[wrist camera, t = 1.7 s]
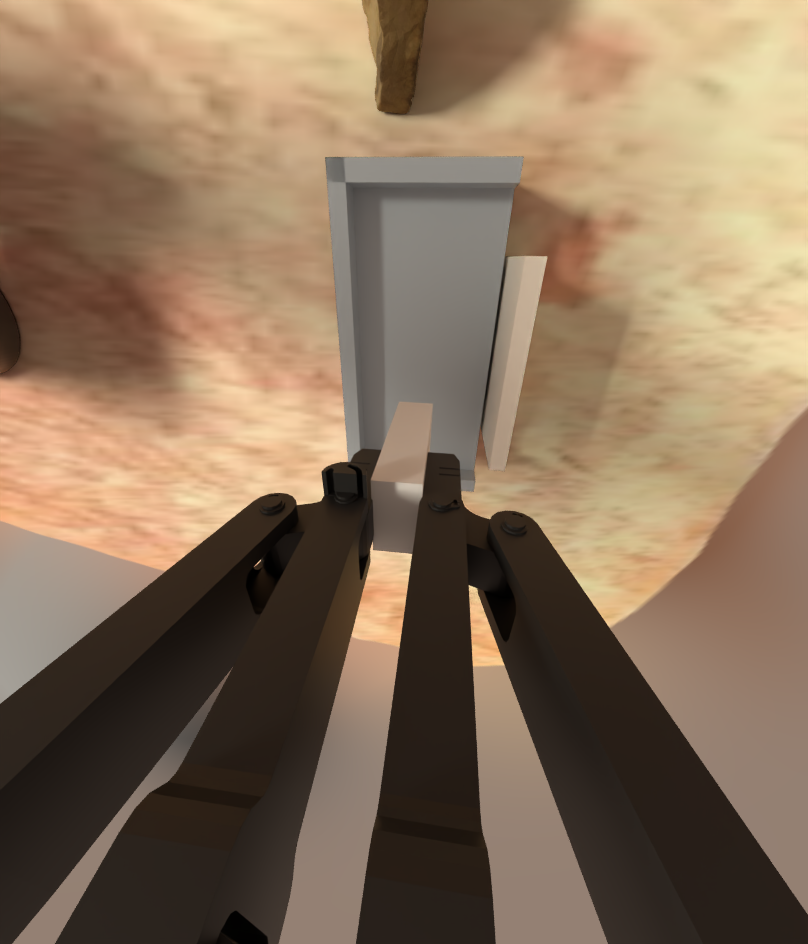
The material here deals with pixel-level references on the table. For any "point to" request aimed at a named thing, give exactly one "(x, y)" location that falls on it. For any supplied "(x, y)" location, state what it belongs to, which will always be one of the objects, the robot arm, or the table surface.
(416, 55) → the rock
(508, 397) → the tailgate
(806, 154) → the table surface
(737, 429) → the table surface
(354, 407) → the bed
